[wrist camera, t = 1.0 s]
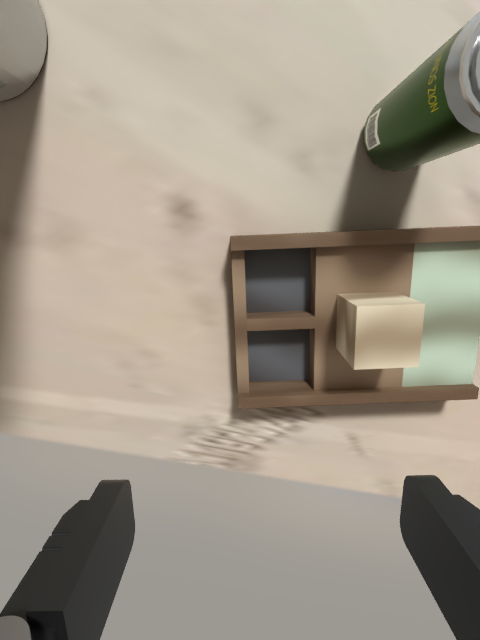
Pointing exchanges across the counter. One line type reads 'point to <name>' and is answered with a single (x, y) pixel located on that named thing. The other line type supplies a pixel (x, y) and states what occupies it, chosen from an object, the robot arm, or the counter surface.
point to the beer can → (430, 107)
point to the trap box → (321, 314)
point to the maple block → (379, 330)
